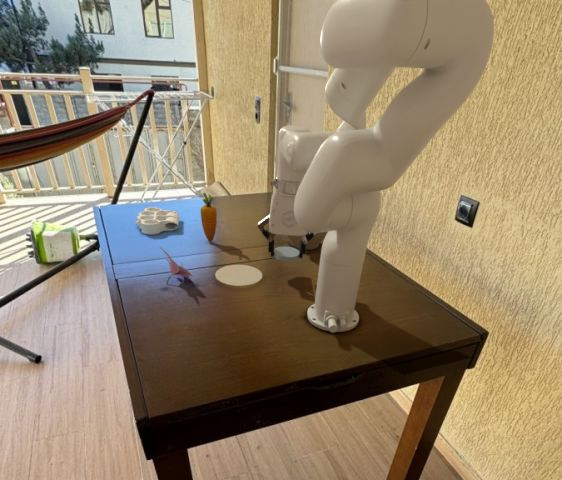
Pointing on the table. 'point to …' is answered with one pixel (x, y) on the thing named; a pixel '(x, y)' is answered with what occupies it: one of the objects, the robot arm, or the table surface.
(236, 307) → the table surface
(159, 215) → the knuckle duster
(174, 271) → the lily
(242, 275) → the dessert plate
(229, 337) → the table surface
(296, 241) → the planter bowl
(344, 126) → the robot arm
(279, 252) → the blue-grey cylinder
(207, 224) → the carrot
